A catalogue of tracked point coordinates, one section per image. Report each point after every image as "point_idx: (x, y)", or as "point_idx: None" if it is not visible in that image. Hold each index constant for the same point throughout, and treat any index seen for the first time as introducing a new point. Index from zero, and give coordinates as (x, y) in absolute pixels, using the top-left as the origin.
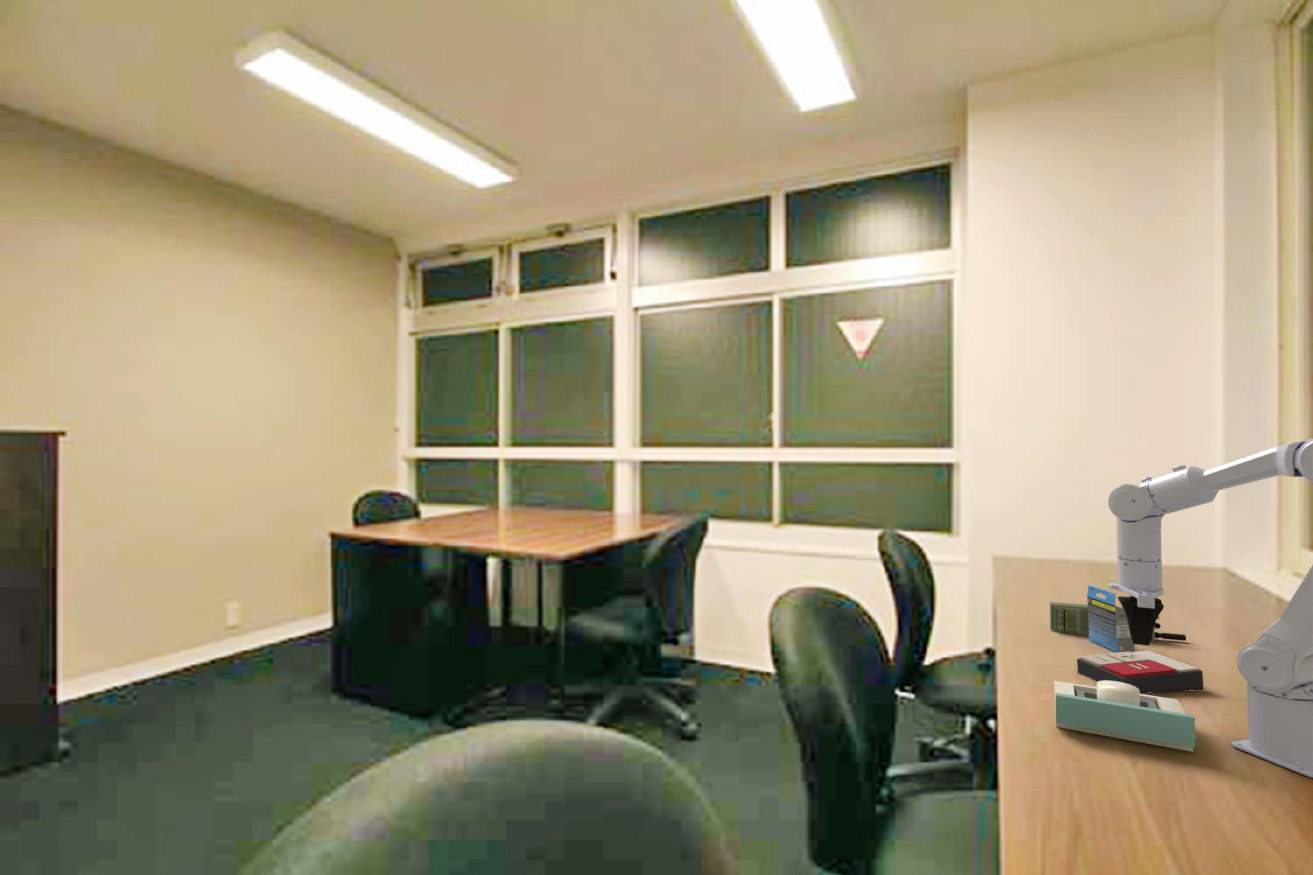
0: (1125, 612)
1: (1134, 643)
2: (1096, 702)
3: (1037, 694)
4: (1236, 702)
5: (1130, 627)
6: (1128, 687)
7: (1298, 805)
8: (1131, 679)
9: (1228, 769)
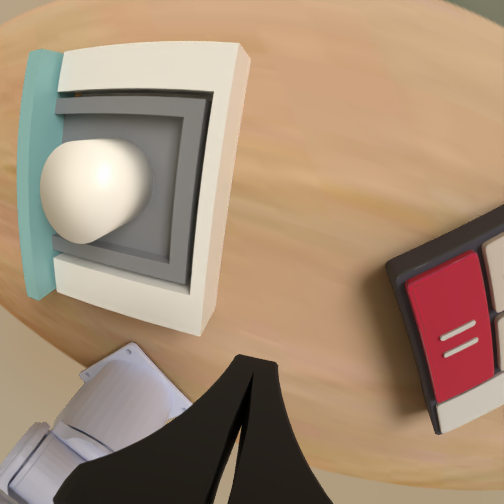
0: (141, 448)
1: (235, 357)
2: (19, 131)
3: (299, 29)
4: (371, 431)
5: (202, 398)
6: (79, 220)
7: (16, 316)
8: (398, 296)
9: (54, 293)
